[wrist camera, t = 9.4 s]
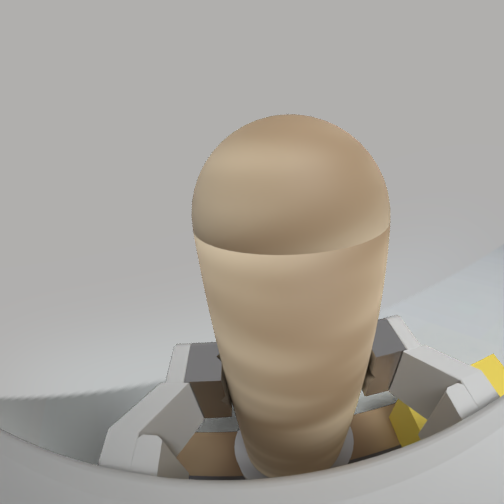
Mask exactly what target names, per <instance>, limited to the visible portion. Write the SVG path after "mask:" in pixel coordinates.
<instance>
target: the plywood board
mask: <svg viewBox="0 0 504 504" xmlns="http://www.w3.org/2000/svg"><path fill="white" fill-rule="evenodd" d="M395 404H396V403H394V404H391V405H388V406H385V407H381V408H378V409H374V410H371V411H367V412H363V413H359V414H355V415H353V418H352V421H351V424H350V427H351V430H352V433H353V440H354V445H353V452H352V455H351V458H350V460H349V462H348V464H351V463H355V462H359V461H362V460H366V459H369V458H372V457H376V456H379V455H382V454H385V453H388V452H391V451H394V450H396V449H399V448H402V446H401V445H400V443H399V440H398V438H397V435H396V433H395V431H394V428H393V426H392V423H391V421H390V419H389V416H390V414H391V412H392V410H393V408H394V406H395ZM236 435H237V432H206V433H204V432H195V433H194V435H193V436H192V437H191V439H190V440H189V441H188V443H187V444H186V445H185V446H184V448H183V449H182V450H181V452H180V453H179V454H178V456H177V457H176V458H177V459H178V461H179V462H180V463H181V464H182V465H183V467H184V468H185V469H186V470H187V471H188V473H189V479H193V480H246V479H245V478H244V476H243V474H242V471H241V469H240V467H239V464H238V462H237V460H236V456H235V448H234V446H235V439H236Z"/></svg>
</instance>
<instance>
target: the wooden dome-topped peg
mask: <svg viewBox="0 0 504 504" xmlns="http://www.w3.org/2000/svg"><path fill="white" fill-rule="evenodd" d="M192 222H193V223H192V224H193V232H194V237H195V243H196V248H197V254H198V258H199V264H200V269H201V274H202V279H203V284H204V288H205V293H206V298H207V302H208V307H209V312H210V316H211V320H212V325H213V329H214V333H215V338H216V342H217V346H218V350H219V354H220V358H221V362H222V366H223V370H224V374H225V378H226V381H227V385H228V389H229V393H230V396H231V400H232V404H233V407H234V411H235V414H236V418H237V421H238V425H239V430H238V432H237V435H236V439H235V446H234V448H235V456H236V460H237V462H238V464H239V467H240V469H241V471H242V474H243V476H244V478H245V479H246V480H247V479H262V478H273V477H282V476H290V475H297V474H303V473H309V472H315V471H320V470H325V469H330V468H335V467H339V466H343V465H347V464H348V462H349V460H350V458H351V455H352V452H353V445H354V440H353V433H352V430H351V427H350V424H351V421H352V418H353V415H354V412H355V409H356V406H357V403H358V399H359V396H360V393H361V389H362V386H363V382H364V378H365V375H366V371H367V367H368V363H369V359H370V355H371V350H372V346H373V341H374V337H375V332H376V327H377V322H378V316H379V311H380V305H381V299H382V293H383V285H384V278H385V271H386V263H387V254H388V244H389V233H390V203H389V197H388V191H387V188H386V185H385V181H384V178H383V176H382V174H381V172H380V170H379V168H378V166H377V164H376V163H375V161H374V159H373V158H372V156H371V155H370V154H369V152H368V151H367V150H366V149H365V148H364V147H363V146H362V144H361V143H360V142H358V141H357V140H356V139H355V138H354V137H352V136H351V135H350V134H349V133H347V132H346V131H344V130H343V129H341V128H339V127H338V126H335V125H333V124H331V123H329V122H327V121H324V120H321V119H317V118H314V117H310V116H304V115H295V114H294V115H293V114H292V115H276V116H270V117H266V118H263V119H259V120H256V121H254V122H251V123H249V124H247V125H245V126H243V127H241V128H240V129H238V130H236V131H235V132H233V133H232V134H231V135H229V136H228V137H227V138H226V139H225V140H223V141H222V142H221V143H220V144H219V146H218V147H217V148H216V149H215V150H214V151H213V152H212V154H211V155H210V157H209V158H208V159H207V161H206V163H205V164H204V166H203V168H202V170H201V172H200V175H199V177H198V180H197V183H196V186H195V189H194V195H193V200H192Z"/></svg>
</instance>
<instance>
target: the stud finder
mask: <svg viewBox="0 0 504 504" xmlns="http://www.w3.org/2000/svg"><path fill="white" fill-rule="evenodd" d="M471 366H473V367H475V368H477V369H479V370H481V371H482V372H483V374H484V375H485V376H486V378H487V379H488V380H489V382H490V383H491V385H492V386H493V388H494V389H495V390H496V392H497V393H498V395H499V396H500V397H501V396H503V395H504V367H503V365H502V364H501V363H500V361H499V360H498V359H497V358H496V356H495V355H494V354H492V355H490V356H488V357H486V358H484V359H482V360H480V361H478V362H476V363H474V364H472V365H471ZM389 419H390V421H391V423H392V426H393V428H394V431H395V433H396V435H397V438H398V440H399V443H400V445H401V446H402V447H404V446H407V445H410V444H412V443H415V442H417V441H420V438H419V436H418V434H419V432H420V430H421V429H422V427H423V426H424V424H425V423H426V421H427V419H425V418H424V417H423V416H421V415H420V414H418V413H417V412H416V411H414V410H413V409H412V408H410V407H409V406H407V405H406V404H405V403H403V402H402V401H401V400H399V399H398V400H397V402H396V404H395V406H394V408H393V410H392V412H391V414H390V416H389Z"/></svg>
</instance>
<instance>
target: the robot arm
mask: <svg viewBox="0 0 504 504" xmlns="http://www.w3.org/2000/svg"><path fill="white" fill-rule="evenodd" d="M388 390H389V392H390V393H391V394H393V395H394V396H395V397H397V398H398V399H399V400H401V401H402V402H403V403H405V404H406V405H407V406H409V407H410V408H412V409H413V410H414V411H416V412H417V413H418V414H420V415H421V416H423V417H424V418H425V419H427V421H426V423H425V424H424V426H423V427H422V429H421V430H420V432H419V434H418V436H419V438H420V441H417V442H415V443H412V444H410V445H407V446H404V447H402V448H399V449H396V450H394V451H391V452H388V453H385V454H382V455H379V456H376V457H372V458H369V459H366V460H362V461H359V462H355V463H351V464H347V465H343V466H339V467H335V468H330V469H325V470H320V471H315V472H309V473H303V474H297V475H290V476H282V477H273V478H262V479H247V480H193V479H189V473H188V471H187V470H186V469H185V468H184V467H183V465H182V464H181V463H180V462H179V461H178V459H177V458H176V457H177V456H178V454H179V453H180V452H181V450H182V449H183V448H184V446H185V445H186V444H187V443H188V441H189V440H190V439H191V437H192V436H193V435H194V433H195V432H196V431H197V429H198V428H199V427H200V425H201V424H202V423H203V421H204V418H220V417H232V400H231V396H230V393H229V389H228V385H227V381H226V378H225V374H224V370H223V366H222V362H221V358H220V354H219V350H218V346H217V342H210V343H192V344H176V345H175V346H174V349H173V353H172V357H171V361H170V365H169V369H168V373H167V378H166V382H165V383H160V384H159V385H158V386H156V387H155V388H154V389H153V390H152V391H151V392H150V393H149V394H147V395H146V396H145V397H144V398H143V399H142V400H141V401H140V402H138V403H137V404H136V405H135V406H134V407H133V408H132V409H130V410H129V411H128V412H127V413H126V414H125V415H124V416H122V417H121V418H120V419H119V420H118V421H117V422H115V423H114V424H113V425H112V426H111V427H110V428H109V429H108V432H107V435H106V438H105V442H104V445H103V448H102V452H101V455H100V458H99V462H98V465H94V464H90V463H87V462H83V461H80V460H76V459H73V458H70V457H67V456H64V455H61V454H58V453H55V452H52V451H50V450H47V449H44V448H42V447H39V446H37V445H34V444H32V443H29V442H27V441H25V440H23V439H20V438H18V437H16V436H14V435H12V434H10V433H8V432H6V431H4V430H2V429H0V504H504V395H503V396H501V397H500V396H499V395H498V393H497V392H496V390H495V389H494V388H493V386H492V385H491V383H490V382H489V380H488V379H487V378H486V376H485V375H484V374H483V372H482V371H481V370H479V369H477V368H475V367H473V366H471V365H468V364H466V363H464V362H462V361H460V360H457V359H455V358H453V357H451V356H449V355H447V354H444V353H442V352H440V351H438V350H436V349H434V348H431V347H429V346H427V345H422V346H421V344H420V343H419V342H418V340H417V339H416V337H415V336H414V335H413V333H412V332H411V331H410V329H409V328H408V326H407V325H406V324H405V322H404V321H403V320H402V318H401V317H400V316H398V315H395V316H390V317H386V318H383V319H378V322H377V327H376V332H375V337H374V341H373V346H372V350H371V355H370V359H369V363H368V367H367V371H366V375H365V378H364V382H363V386H362V391H363V393H364V395H365V396H369V395H373V394H377V393H381V392H385V391H388Z"/></svg>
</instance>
